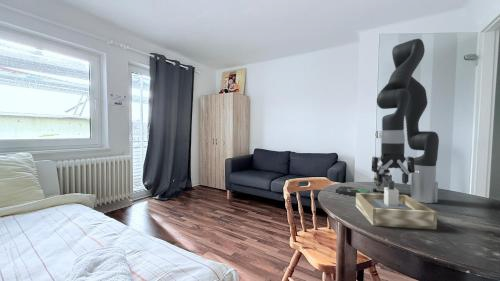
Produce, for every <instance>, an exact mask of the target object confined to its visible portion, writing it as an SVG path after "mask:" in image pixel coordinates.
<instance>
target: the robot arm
mask: <svg viewBox="0 0 500 281" xmlns="http://www.w3.org/2000/svg"><path fill="white" fill-rule="evenodd" d="M425 52H426V50H425V44H424V41H423V40H422V39H421V38H415V39H411V40H408V41H406V42H403V43H399V44H396V45H395V46H393V47H392V52H391V55H392V60H393V61H392V62H393V64H394V67H395V68H394V70H393V72H392V73H391V75H390V78H389V80H388V83H387V84H385V86H384V87H383V88H382V89H381V90H380V91H379V93H378V94H377V98H376V105H377V106H378V107H379V108H380V109H382V110H391V109H396V110H395V111H394V112H393V113H391V114H387V115H384V116H382V119H381V124H382V125H381V135H380V136H381V137H380V138H381V139H380V140H381V141H380V142H381V145H380V146H381V148H380V149H381V150H380V154H381V155H380V156H372V160H371V172H373V173H375V174H376V173H377V181H378V182H379V183H380V184H382V183H383V174H382V173H383V172H384V170H386V169H387V168H389V169H398V170H400V171H401V183H402V184H404V185H406V184H407V185H408V183H409V176H410V198H412V199H414V200H416V201H418V202H419V203H425V204H434V203H438V197H439V196H438V192H439V191H438V190H439V183H438V181H437V180H436V179H437V177H436V176H437V161H438V155H439V154H438V153H439V146H440V143H439V142H440V138H439V134H438V133H437V132H435V131H431V130H430V131H429V130H428V131H425V130H424V131H421V130H419V121H420V119H421V117H422V115H423V114H424V112H425V110H426V108H427V107H428V106H427V105H428V96H427V91H426V88H425V86H424V85H423V84H421V83H420V82H419V80H417V79H415V78H414V77H413V74H414V73H415V71H416V69H417V68H418V66H419V64H420V62H421V61H422V60H423V58H424V55H425ZM405 124H406V125H405ZM405 128H406V137H405ZM405 138H407V145H408V147H409V149H411V150H413V151H423V154H421V155H419V156H416V157H413V156H405V149H406V148H405V141H406V139H405ZM380 161H381V164H379V163H380ZM405 162H406V166H407V167H406V166H405V164H404V163H405ZM379 165H380V166H379ZM378 166H379V168H378V170H377V167H378Z"/></svg>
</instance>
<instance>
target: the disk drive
mask: <svg viewBox="0 0 500 281" xmlns="http://www.w3.org/2000/svg"><path fill="white" fill-rule="evenodd" d="M336 193H339V194H338V195H341V194H343V196H347V195H349V196H348V197H353V196H354V198H356V193H368V194H371V193H370V189H365V188H359V187H351V186H344V185H341V186H339V187H337V188H336V189H335V194H336Z"/></svg>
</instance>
